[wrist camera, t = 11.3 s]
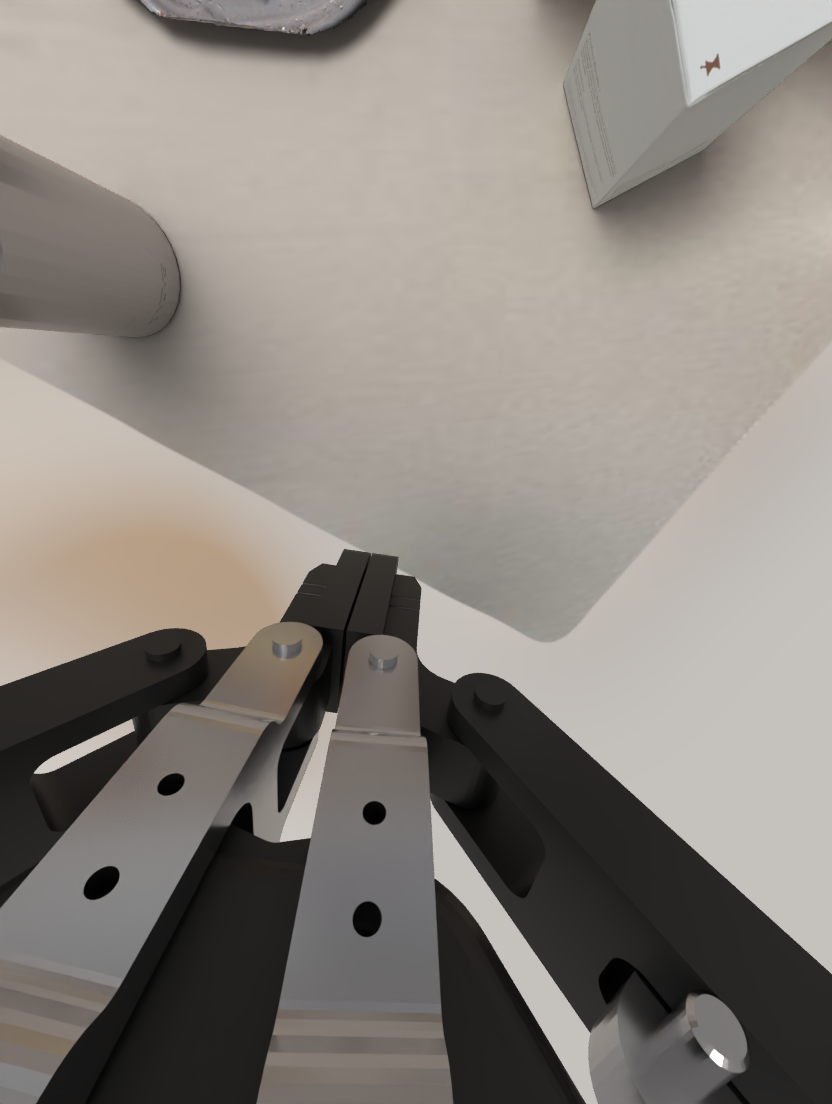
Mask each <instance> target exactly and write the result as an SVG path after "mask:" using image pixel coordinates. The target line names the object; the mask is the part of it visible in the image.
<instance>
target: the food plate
mask: <svg viewBox="0 0 832 1104" xmlns="http://www.w3.org/2000/svg"><path fill="white" fill-rule="evenodd" d="M139 1H141V2H142V3H143V4H144V5H145V6H146V7H147V8H148V9H149V10H150V11H151V12H153V13H154V14H155V13H156V14H157V17H158V15H159V16H160V15H161V16H164V17H165V16H166V17H165V18H172V19H176V20H181V19H182V20H185V21H198V22H204V23H213V24H215V25H216V26H220V25H224V26H226V27H228V26H230V27H231V26H232V27H239V28H240V27H242V28H247V29H248V28H254V29H255V28H256V29H258V30H265V31H280V32H285V33H286V32H287V33H288V34H290V33H295V34H299V33H298V32H300V35H309V36H310V34H313V33H317V31H319V32H320V30H321V31H324V30H328V29H329V28H330V29H331V28H332V29H334V28H335V27H337V26H338V25H340V24H341V22H344V21H346V20H347V19H348V20H349V19H350V18H351V17H352V16H353V15H354V14H356V12H357V11H358V10H359V9H361V8H362V7H363V6H365V5H366V2H367V0H139ZM167 15H168V16H167ZM302 29H304V31H305V32H306V34H302ZM289 31H290V32H289Z"/></svg>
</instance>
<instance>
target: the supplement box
mask: <svg viewBox="0 0 832 1104" xmlns="http://www.w3.org/2000/svg"><path fill="white" fill-rule="evenodd" d="M831 39H832V0H596V1H595V3H594V6H593V8H592V11H591V13H590V16H589V18H588V21H587V24H586V26H585V29H584V31H583V34H582V37H581V39H580V41H579V44H578V46H577V49H576V52H575V54H574V57H573V59H572V62H571V65H570V67H569V70H568V72H567V75H566V77H565V80H564V83H563V84H564V89H565V93H566V98H567V102H568V107H569V111H570V115H571V119H572V123H573V128H574V132H575V136H576V140H577V144H578V148H579V152H580V157H581V161H582V165H583V169H584V173H585V177H586V181H587V185H588V189H589V193H590V198H591V202H592V207H593V208H596V207H598V206H599V205H601V204H603V203H605V202H607V201H609V200H611V199H613V198H614V197H616V196H618V195H620V194H622V193H624V192H626V191H627V190H629V189H631V188H633V187H635V186H637V185H639V184H641V183H643V182H644V181H646V180H648V179H650V178H652V177H654V176H656V175H658V174H660V173H661V172H663V171H665V170H667V169H669V168H671V167H673V166H675V165H677V164H678V163H680V162H682V161H684V160H686V159H688V158H690V157H691V156H693V155H695V154H697V153H699V152H700V151H702V150H704V149H705V148H706V147H707V146H708V145H709V144H711V143H712V142H713V141H714V140H715V139H716V138H717V137H718V136H720V135H721V134H722V133H723V132H724V131H725V130H727V129H728V128H729V127H730V126H731V125H732V124H734V123H735V122H736V121H737V120H738V119H739V118H741V117H742V116H743V115H744V114H745V113H746V112H747V111H749V110H750V109H751V108H752V107H753V106H754V105H756V104H757V103H758V102H759V101H760V100H761V99H762V98H764V97H765V96H766V95H767V94H768V93H769V92H771V91H772V90H773V89H774V88H775V87H777V86H778V85H779V84H780V83H781V82H782V81H784V80H785V79H786V78H787V77H788V76H789V75H791V74H792V73H793V72H794V71H795V70H796V69H798V68H799V67H800V66H801V65H802V64H803V63H805V62H806V61H807V60H808V59H809V58H810V57H811V56H813V55H814V54H815V53H816V52H817V51H818V50H820V49H821V48H822V47H823V46H824V45H825V44H826V43H828V42H829V41H830V40H831Z"/></svg>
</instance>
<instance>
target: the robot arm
mask: <svg viewBox="0 0 832 1104" xmlns="http://www.w3.org/2000/svg"><path fill="white" fill-rule="evenodd" d="M179 291H180V282H179V271H178V267H177V263H176V258H175V256H174V253H173V251H172V248H171V246H170V243H169V242H168V240H167V238H166V237H165V235H164V233H163V232H162V230H161V228H160V227H159V226H158V225H157V224H156V222H155V221H154V220H153V219H152V218H151V216H150V215H148V214H147V213H146V212H145V211H144V210H143V209H141V208H140V207H139V206H138V205H136V204H134V203H133V202H131V201H129V200H127V199H126V198H124V197H122V196H120V195H118V194H116V193H114V192H112V191H110V190H108V189H106V188H104V187H102V186H100V185H98V184H96V183H94V182H92V181H90V180H88V179H87V178H85V177H83V176H81V175H79V174H77V173H75V172H73V171H71V170H69V169H67V168H65V167H63V166H61V165H59V164H57V163H55V162H53V161H51V160H49V159H47V158H45V157H43V156H41V155H39V154H37V153H35V152H33V151H31V150H29V149H27V148H25V147H23V146H21V145H19V144H17V143H15V142H13V141H11V140H9V139H7V138H5V137H3V136H1V135H0V327H8V328H21V329H34V330H47V331H60V332H72V333H85V334H96V335H110V336H125V337H144V336H150V335H152V334H154V333H156V332H158V331H160V330H161V329H162V328H163V327H164V326H165V325H167V324H168V322H169V321H170V319H171V318H172V316H173V314H174V312H175V309H176V306H177V304H178V299H179ZM397 565H398V557H395V556H389V555H382V554H375V553H372V556H371V553H368V552H361V551H354V550H347V549H344V551H343V553H342V555H341V557H340V559H339V561H338V563H337V565H336V566H335V565H329V564H321V565H319V566H318V567H316V568H314V569H313V570H311V571H310V572H309V573H308V575H307V577H306V578H305V580H304V582H303V585H301V587H300V589H299V590H298V593H297V594H296V595H295V597H294V599H293V600H292V602H291V604H290V606H289V607H288V609H287V611H286V613H285V614H284V616H283V618H282V619H281V621H280V623H277V624H273V625H270V626H268V627H265V628H264V629H262V630H260V631H259V632H258V633H257V634H256V635H255V636H254V637H253V638H252V640H251V641H250V642H249V644H248V645H247V646H245V647H239V648H230V649H217V650H207V648H206V642H205V639H204V638H203V637H202V636H201V635H200V634H199V633H197V632H194V631H192V630H188V629H179V628H175V629H174V628H173V629H163V630H159V631H155V632H152V633H148V634H146V635H143V636H140V637H137V638H134V639H132V640H129V641H126V642H123V643H120V644H118V645H115V646H112V647H109V648H106V649H103V650H101V651H98V652H95V653H92V654H89V655H87V656H84V657H81V658H79V659H76V660H73V661H70V662H67V663H64V664H61V665H59V666H56V667H53V668H50V669H47V670H45V671H42V672H39V673H36V674H34V675H31V676H28V677H25V678H22V679H20V680H16V681H14V682H11V683H8V684H5V685H2V686H0V1104H586V1103H585V1101H584V1100H583V1098H582V1096H581V1095H580V1093H579V1091H578V1090H577V1088H576V1086H575V1085H574V1083H573V1081H572V1080H571V1078H570V1076H569V1075H568V1073H567V1071H566V1069H565V1068H564V1066H563V1065H562V1063H561V1061H560V1060H559V1058H558V1056H557V1054H556V1053H555V1051H554V1049H553V1048H552V1046H551V1044H550V1043H549V1041H548V1039H547V1038H546V1036H545V1034H544V1033H543V1031H542V1029H541V1027H540V1026H539V1024H538V1023H537V1021H536V1019H535V1017H534V1016H533V1014H532V1013H531V1011H530V1009H529V1007H528V1006H527V1004H526V1002H525V1001H524V999H523V997H522V996H521V994H520V992H519V991H518V989H517V987H516V986H515V984H514V982H513V980H512V979H511V977H510V975H509V974H508V972H507V970H506V969H505V967H504V965H503V964H502V962H501V960H500V959H499V957H498V955H497V954H496V952H495V950H494V949H493V947H492V945H491V943H490V942H489V940H488V939H487V937H486V935H485V934H484V932H483V930H482V929H481V927H480V926H479V924H478V923H477V922H476V920H475V919H474V917H473V916H472V915H471V914H470V912H469V911H468V910H467V908H466V907H465V906H464V905H463V904H462V903H461V902H460V901H459V899H457V897H456V896H455V895H454V894H453V893H452V892H451V891H450V890H448V889H447V888H446V887H445V886H444V885H442V884H441V883H440V882H439V881H437V880H436V879H434V864H433V844H432V825H431V806H430V799H431V801H432V804H433V806H434V808H435V809H436V811H437V812H438V814H439V815H440V817H441V818H442V819H443V821H444V822H445V824H446V825H447V827H448V828H449V830H450V831H451V833H452V834H453V835H454V837H455V838H456V840H457V841H458V843H459V844H460V845H461V847H462V848H463V850H464V851H465V853H466V854H467V856H468V857H469V859H470V860H471V861H472V863H473V864H474V866H475V867H476V869H477V870H478V872H479V873H480V874H481V876H482V877H483V879H484V880H485V882H486V883H487V885H488V886H489V887H490V889H491V890H492V892H493V893H494V895H495V896H496V897H497V899H498V900H499V902H500V903H501V905H502V906H503V908H504V909H505V911H506V912H507V913H508V915H509V916H510V918H511V919H512V921H513V922H514V923H515V925H516V926H517V928H518V929H519V931H520V932H521V933H522V935H523V936H524V938H525V939H526V941H527V942H528V944H529V945H530V947H531V948H532V949H533V951H534V952H535V954H536V955H537V956H538V958H539V960H540V961H541V962H542V964H543V965H544V967H545V968H546V970H547V971H548V973H549V974H550V976H551V977H552V978H553V980H554V981H555V983H556V984H557V986H558V987H559V989H560V990H561V991H562V993H563V994H564V995H565V997H566V998H567V1000H568V1002H569V1003H570V1004H571V1006H572V1007H573V1009H574V1010H575V1012H576V1013H577V1014H578V1016H579V1017H580V1019H581V1020H582V1022H583V1023H584V1025H585V1026H586V1028H587V1029H588V1030H589V1032H590V1033H591V1034H590V1040H589V1067H590V1075H591V1080H592V1084H593V1089H594V1092H595V1095H596V1098H597V1101H598V1104H832V974H831V973H830V972H829V971H828V970H826V969H825V968H824V967H823V966H822V965H821V964H820V963H819V962H818V961H817V960H815V959H814V958H813V957H812V956H811V955H810V954H809V953H808V952H807V951H805V950H804V949H803V948H802V947H801V946H800V945H799V944H798V943H797V942H796V941H794V940H793V939H792V938H791V937H790V936H789V935H788V934H787V933H785V932H784V931H783V930H782V929H781V928H780V927H779V926H778V925H777V924H775V923H774V922H773V921H772V920H771V919H770V918H769V917H768V916H767V915H766V914H765V913H763V912H762V911H761V910H760V909H759V908H758V907H757V906H756V905H755V904H754V903H752V902H751V901H750V900H749V899H748V898H747V897H746V896H745V895H744V894H742V893H741V892H740V891H739V890H738V889H737V888H736V887H735V886H734V885H732V884H731V883H730V882H729V881H728V880H727V879H726V878H725V877H724V876H723V875H721V874H720V873H719V872H718V871H717V870H716V869H715V868H714V867H713V866H711V865H710V864H709V863H708V862H707V861H706V860H705V859H704V858H703V857H702V856H700V855H699V854H698V853H697V852H696V851H695V850H694V849H692V847H691V846H689V845H688V844H687V843H686V842H685V841H684V840H683V839H682V838H680V837H679V836H678V835H677V834H676V833H675V832H674V831H673V830H671V828H669V827H668V826H667V825H666V824H665V823H664V822H663V821H662V820H661V819H659V818H658V817H657V816H656V815H655V814H654V813H653V812H652V811H651V810H650V809H648V808H647V807H646V806H645V805H644V804H643V803H642V802H641V801H640V800H639V799H637V798H636V797H635V796H634V795H633V794H632V793H631V792H630V791H628V789H626V788H625V787H624V786H623V785H622V784H621V783H620V782H619V781H618V780H616V779H615V778H614V777H613V776H612V775H611V774H610V773H609V772H608V771H606V770H605V769H604V768H603V767H602V766H601V765H600V764H599V763H598V762H597V761H595V760H594V759H593V758H592V757H591V756H590V755H589V754H588V753H587V752H585V751H584V750H583V749H582V748H581V747H580V746H579V745H578V744H577V743H576V742H574V741H573V740H572V739H571V738H570V737H569V736H568V735H567V734H566V733H565V732H563V731H562V730H561V729H560V728H559V727H558V726H557V725H556V724H555V723H553V722H552V721H551V720H550V719H549V718H548V717H547V716H546V715H545V714H544V713H542V712H541V711H540V710H539V709H538V708H537V707H536V706H535V705H533V704H532V703H531V702H530V701H529V700H528V699H527V698H526V697H525V696H524V695H523V694H521V693H520V692H519V691H518V690H517V689H516V688H515V687H513V686H512V685H511V684H510V683H508V682H507V681H505V680H503V679H501V678H499V677H497V676H494V675H490V674H485V673H473V674H468V675H465V676H463V677H461V678H460V679H458V680H457V682H456V683H453V682H451V681H448V680H446V679H443V678H441V677H439V676H437V675H435V674H434V673H432V672H430V671H429V670H428V669H427V668H426V667H425V666H424V665H423V664H422V663H421V661H420V660H419V658H418V655H417V636H418V622H419V610H420V598H421V587H420V585H419V583H418V582H417V580H416V579H415V577H411V576H404V575H397V574H396V573H397ZM338 708H339V710H338ZM325 711H327V712H333V713H337V712H338V715H337V721H336V726H335V729H333V730H332V733H331V737H330V742H329V747H328V752H327V757H326V762H325V767H324V773H323V778H322V784H321V788H320V794H319V799H318V804H317V809H316V814H315V820H314V825H313V830H312V836H311V838H309V839H301V840H294V841H286V842H279V841H280V836H281V833H282V829H283V826H284V823H285V820H286V818H287V816H288V813H289V811H290V808H291V806H292V803H293V801H294V798H295V796H296V793H297V791H298V789H299V786H300V784H301V781H302V779H303V776H304V774H305V771H306V769H307V766H308V764H309V762H310V759H311V757H312V754H313V752H314V749H315V747H316V744H317V741H318V731H319V729H320V727H321V724H322V721H323V718H324V714H325ZM130 719H132V720H133V724H134V729H135V731H134V732H131V733H129V734H128V735H125V736H123V737H122V738H119V739H117V740H115V741H113V742H111V743H109V744H108V745H105V746H103V747H101V748H100V749H97V750H95V751H93V752H91V753H89V754H87V755H85V756H83V757H81V758H79V759H77V760H75V761H73V762H71V763H69V764H67V765H65V766H63V767H61V768H59V769H57V770H55V771H52V772H49V773H45V774H34V772H35V770H36V769H37V768H38V767H39V766H40V765H41V764H42V763H43V762H45V761H46V760H48V759H49V758H51V757H53V756H55V755H57V754H59V753H61V752H63V751H65V750H67V749H69V748H71V747H73V746H76V745H78V744H80V743H82V742H84V741H86V740H88V739H90V738H92V737H94V736H97V735H99V734H101V733H103V732H105V731H107V730H109V729H111V728H113V727H116V726H118V725H120V724H122V723H124V722H126V721H128V720H130Z"/></svg>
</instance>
